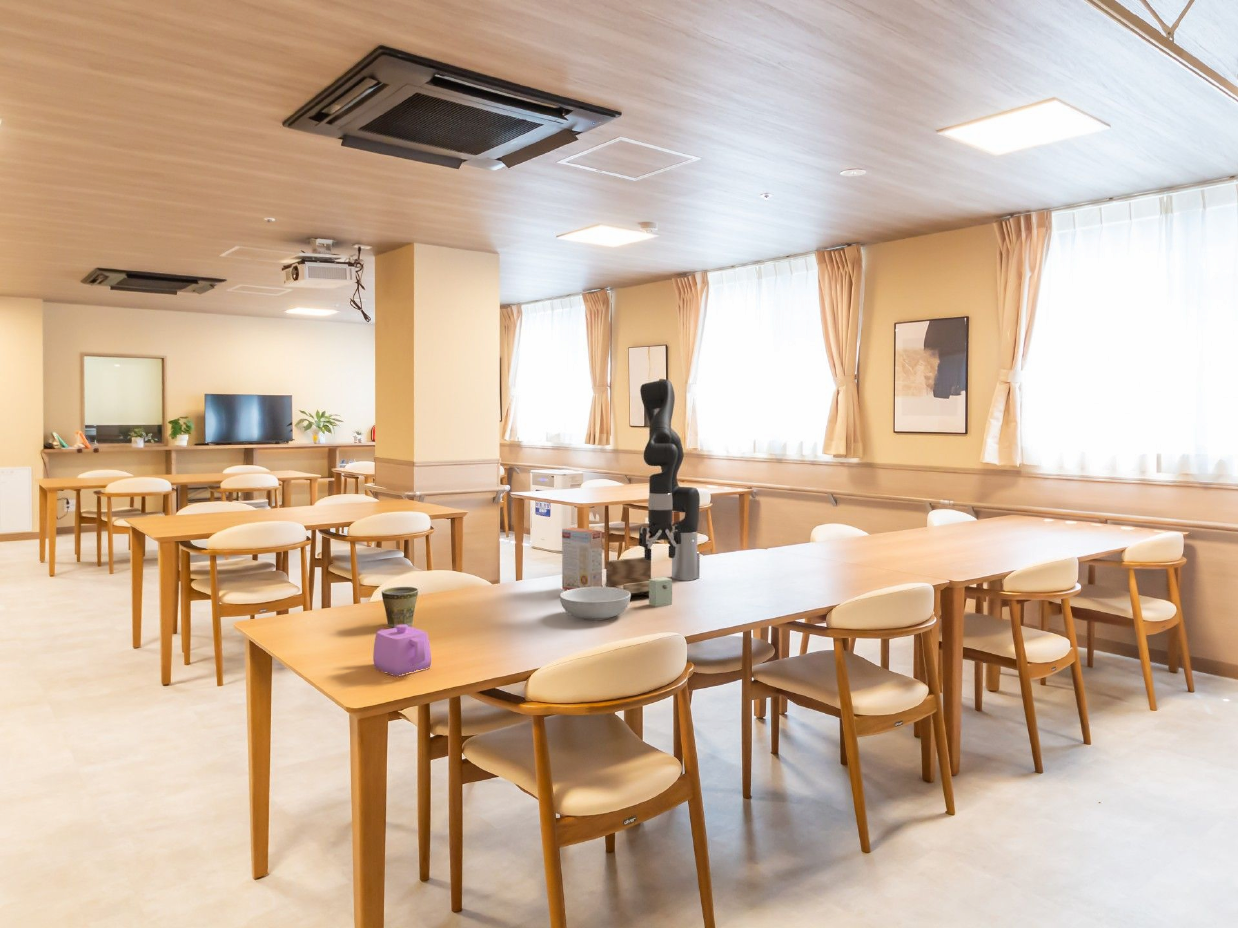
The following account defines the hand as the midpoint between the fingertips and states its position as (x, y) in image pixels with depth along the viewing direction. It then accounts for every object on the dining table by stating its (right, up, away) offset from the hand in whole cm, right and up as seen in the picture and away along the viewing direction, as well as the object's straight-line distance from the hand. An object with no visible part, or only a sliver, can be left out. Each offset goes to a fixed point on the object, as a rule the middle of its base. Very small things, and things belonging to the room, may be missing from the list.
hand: (659, 559), depth 257 cm
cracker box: (-25, -13, +21) cm, 35 cm away
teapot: (-64, -19, -63) cm, 92 cm away
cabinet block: (0, -14, +1) cm, 14 cm away
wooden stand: (-8, -14, +11) cm, 19 cm away
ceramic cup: (-75, -16, -23) cm, 80 cm away
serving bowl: (-20, -16, -14) cm, 29 cm away
